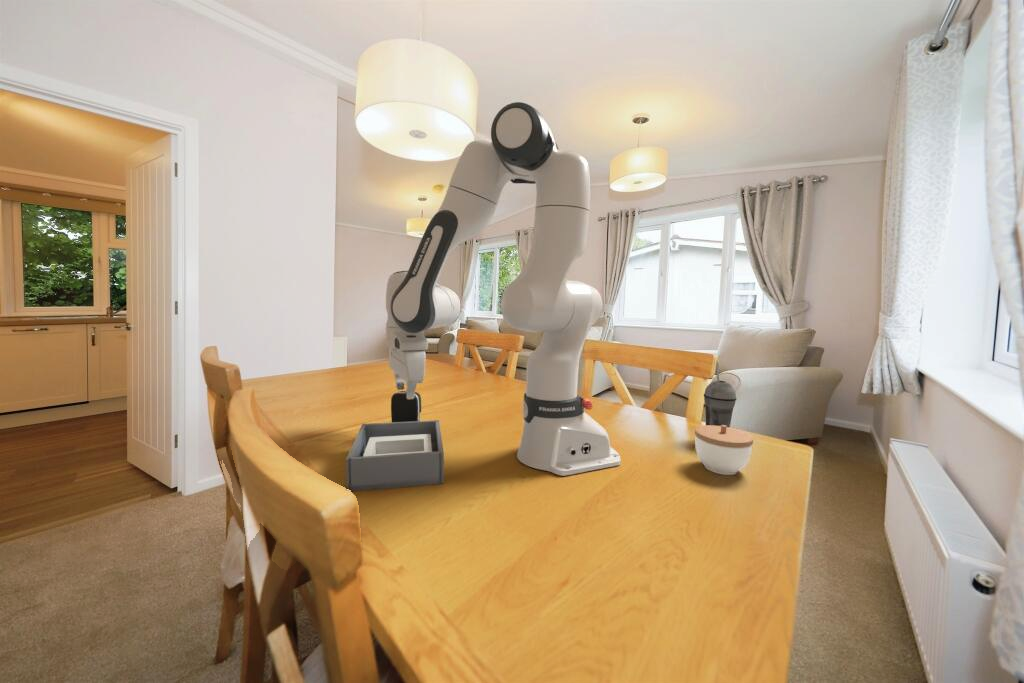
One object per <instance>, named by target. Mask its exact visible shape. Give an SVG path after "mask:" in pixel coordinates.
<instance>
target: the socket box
mask: <svg viewBox="0 0 1024 683" xmlns="http://www.w3.org/2000/svg"><path fill="white" fill-rule="evenodd" d="M442 438H443V437H442V432H441V426H440V420H438V419H435V420H419V421H411V422H392V421H390V422H377V423H376V422H375V423H362V424H361V426H360V428H359V430H358V432H357V435H356V436H355V439H354V441H353V443H352V445H351V448H350V450H349V452H348V454H347V456H346V458H345V476H346V482H345V483H346V490H347V489H349V490H351V491H352V492H362V491H363V492H364V491H372V490H373V491H374V490H385V489H398V488H408V487H418V486H419V487H420V486H430V485H441V484H445V482H444V480H445V475H444V474H445V472H444V470H445V468H444V466H445V464H444V463H445V461H444V460H445V459H444V457H445V454H444V453H445V452H444V446H443V440H442Z"/></svg>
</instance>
